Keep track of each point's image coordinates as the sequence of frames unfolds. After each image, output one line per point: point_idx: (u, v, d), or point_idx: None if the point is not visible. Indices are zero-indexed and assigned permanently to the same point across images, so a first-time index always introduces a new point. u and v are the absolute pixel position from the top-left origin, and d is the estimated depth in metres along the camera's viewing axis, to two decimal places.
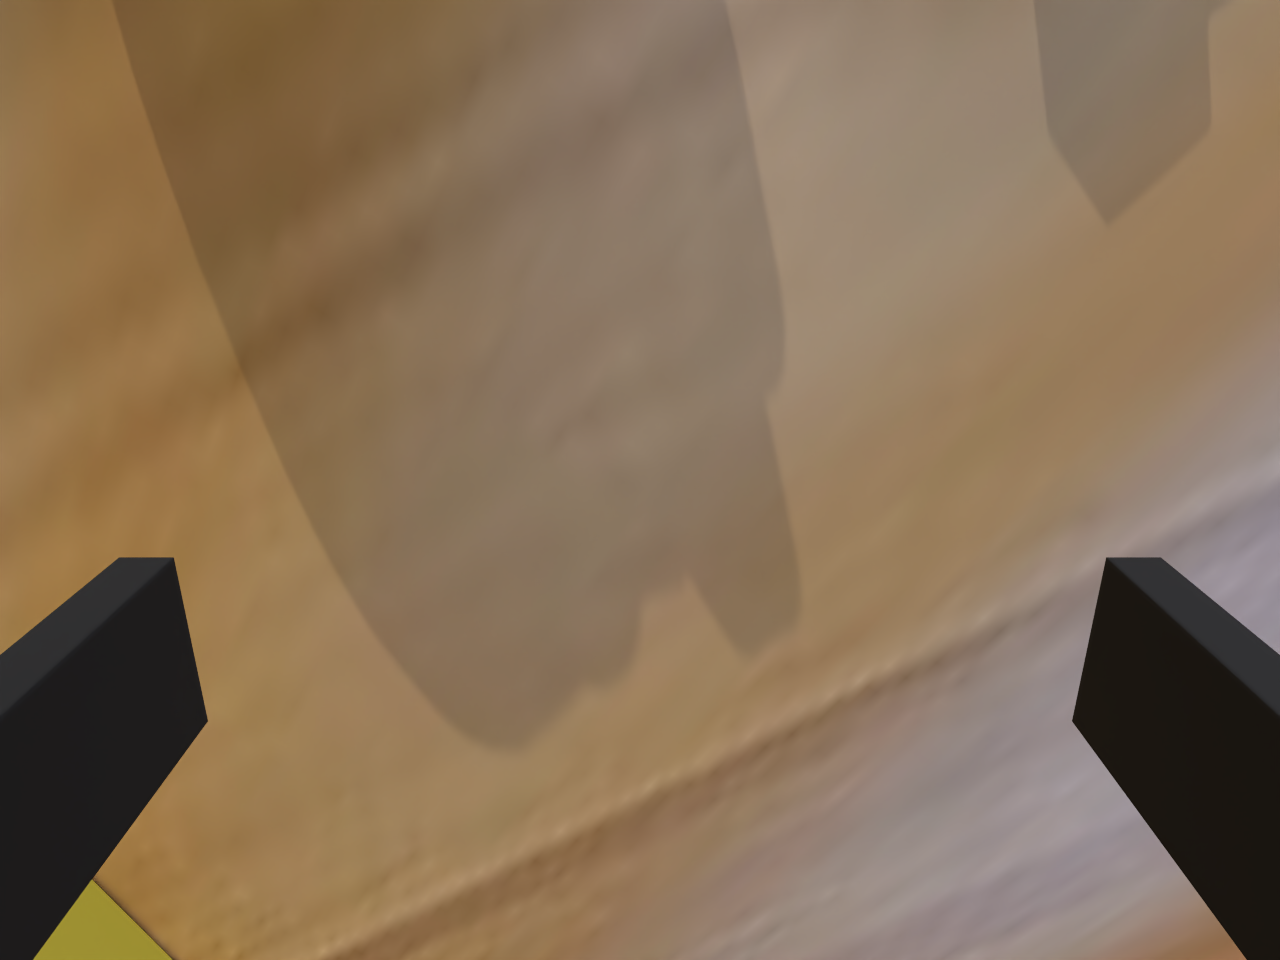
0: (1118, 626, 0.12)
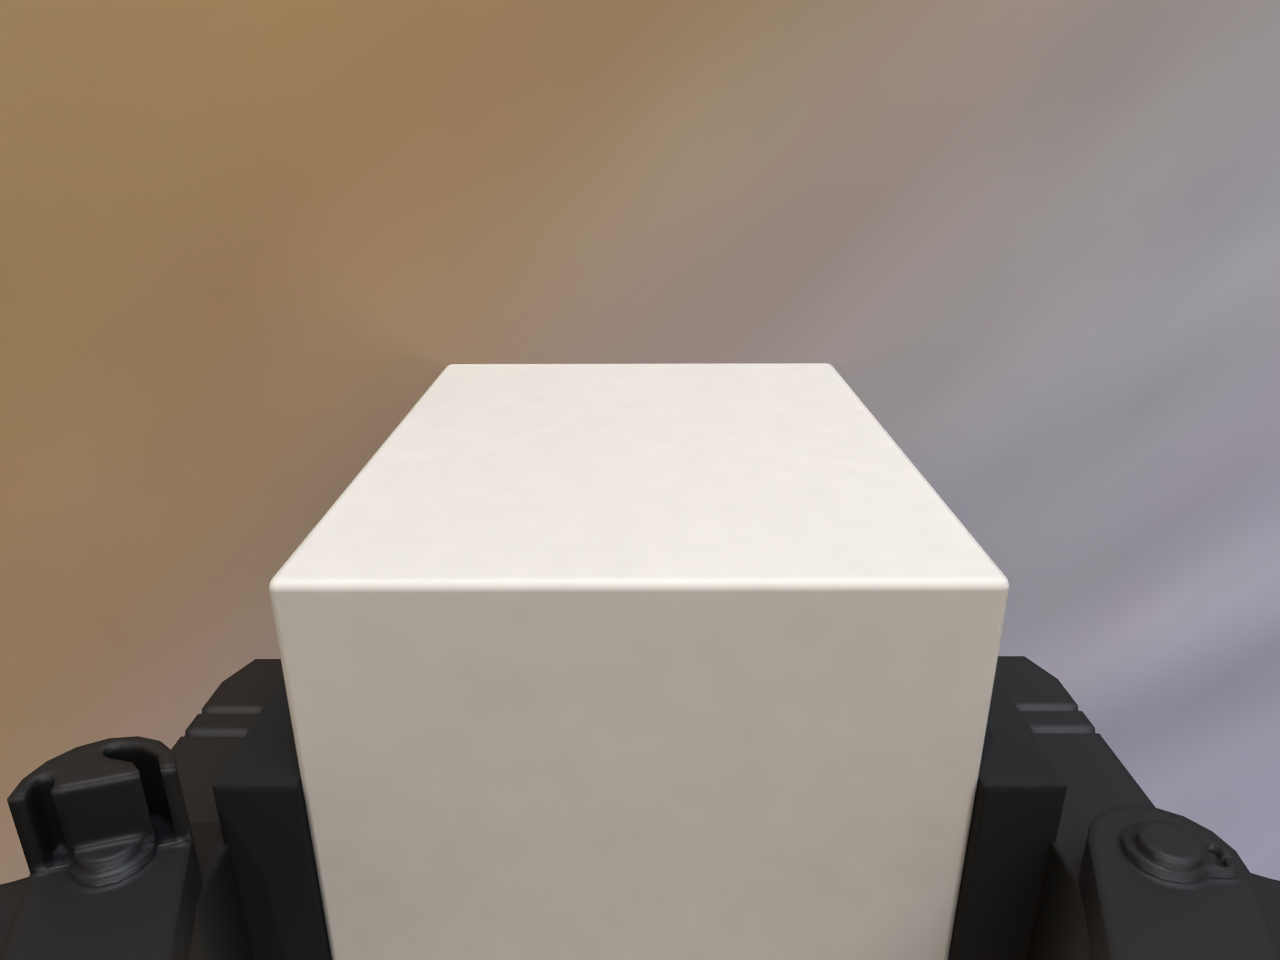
0: None
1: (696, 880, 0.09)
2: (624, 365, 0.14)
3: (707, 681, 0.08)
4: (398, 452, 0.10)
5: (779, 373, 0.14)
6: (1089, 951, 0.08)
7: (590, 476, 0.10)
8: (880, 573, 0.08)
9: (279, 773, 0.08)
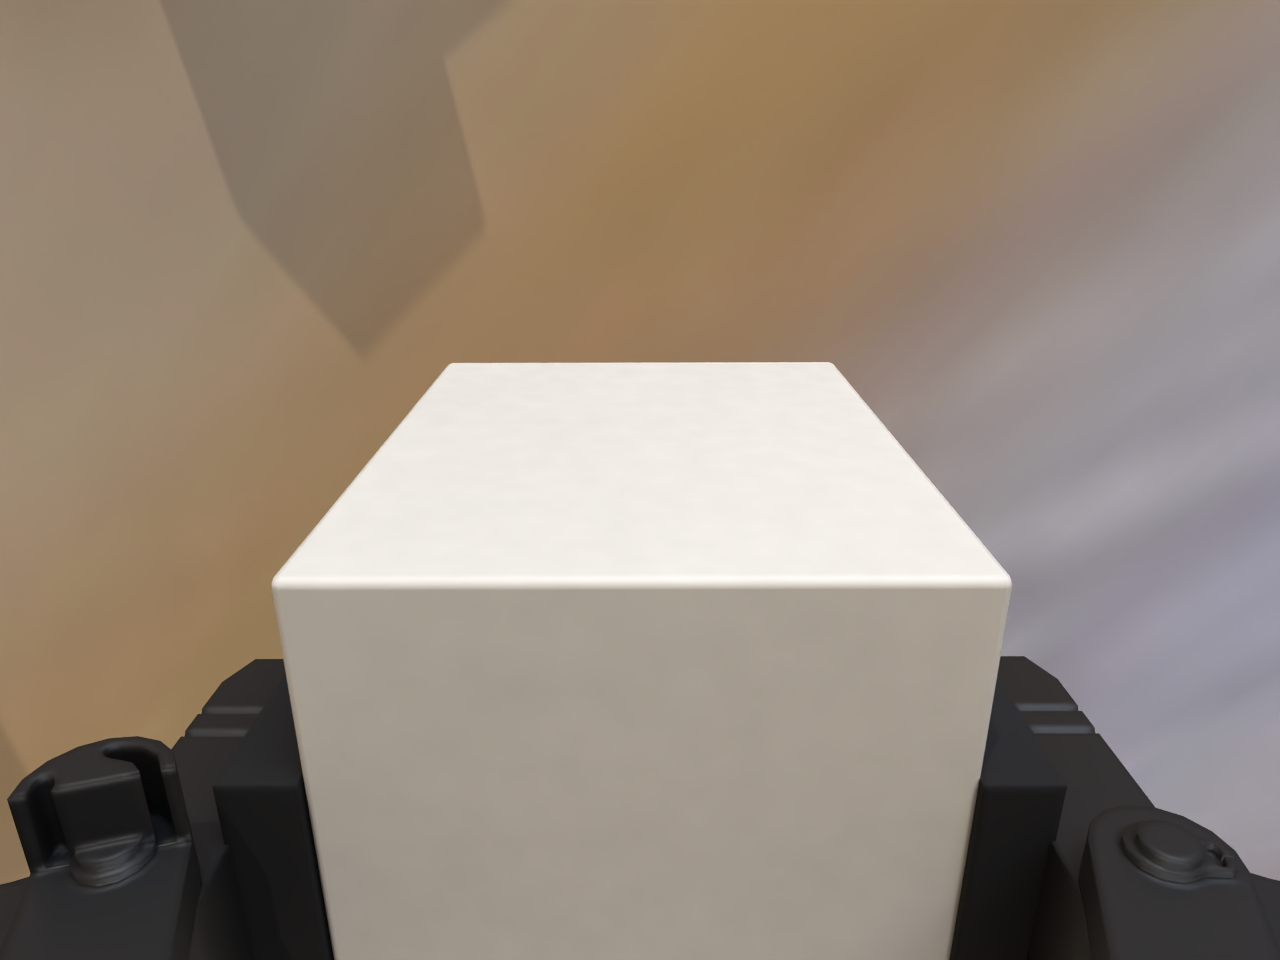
0: None
1: (698, 879, 0.09)
2: (625, 364, 0.14)
3: (709, 680, 0.08)
4: (400, 450, 0.10)
5: (780, 372, 0.14)
6: (1089, 951, 0.08)
7: (591, 474, 0.10)
8: (883, 570, 0.08)
9: (279, 773, 0.08)
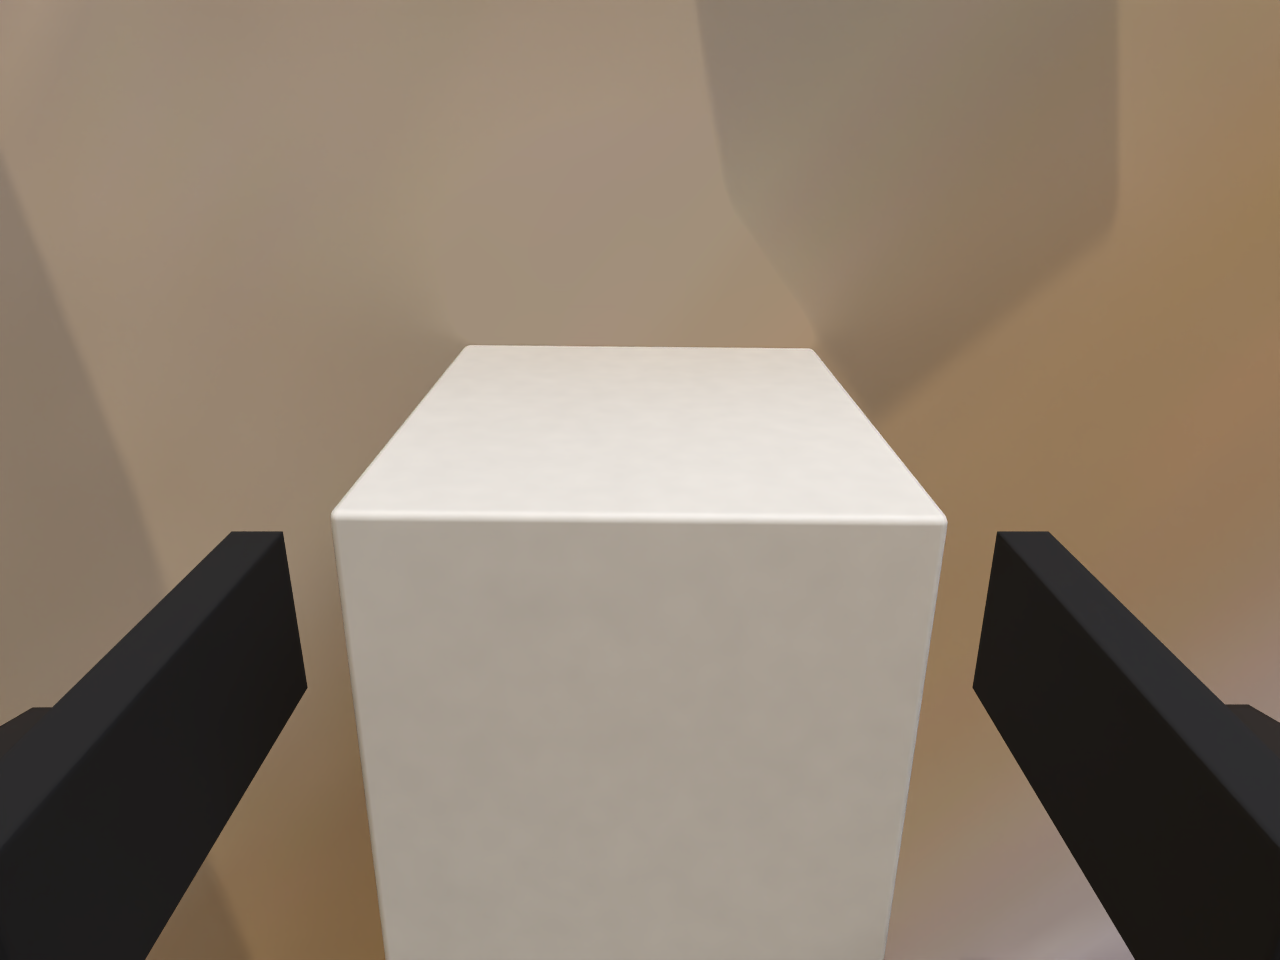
0: (1006, 595, 0.13)
1: (685, 777, 0.10)
2: (625, 348, 0.16)
3: (695, 602, 0.09)
4: (428, 416, 0.12)
5: (765, 356, 0.15)
6: None
7: (596, 436, 0.11)
8: (840, 509, 0.09)
9: None
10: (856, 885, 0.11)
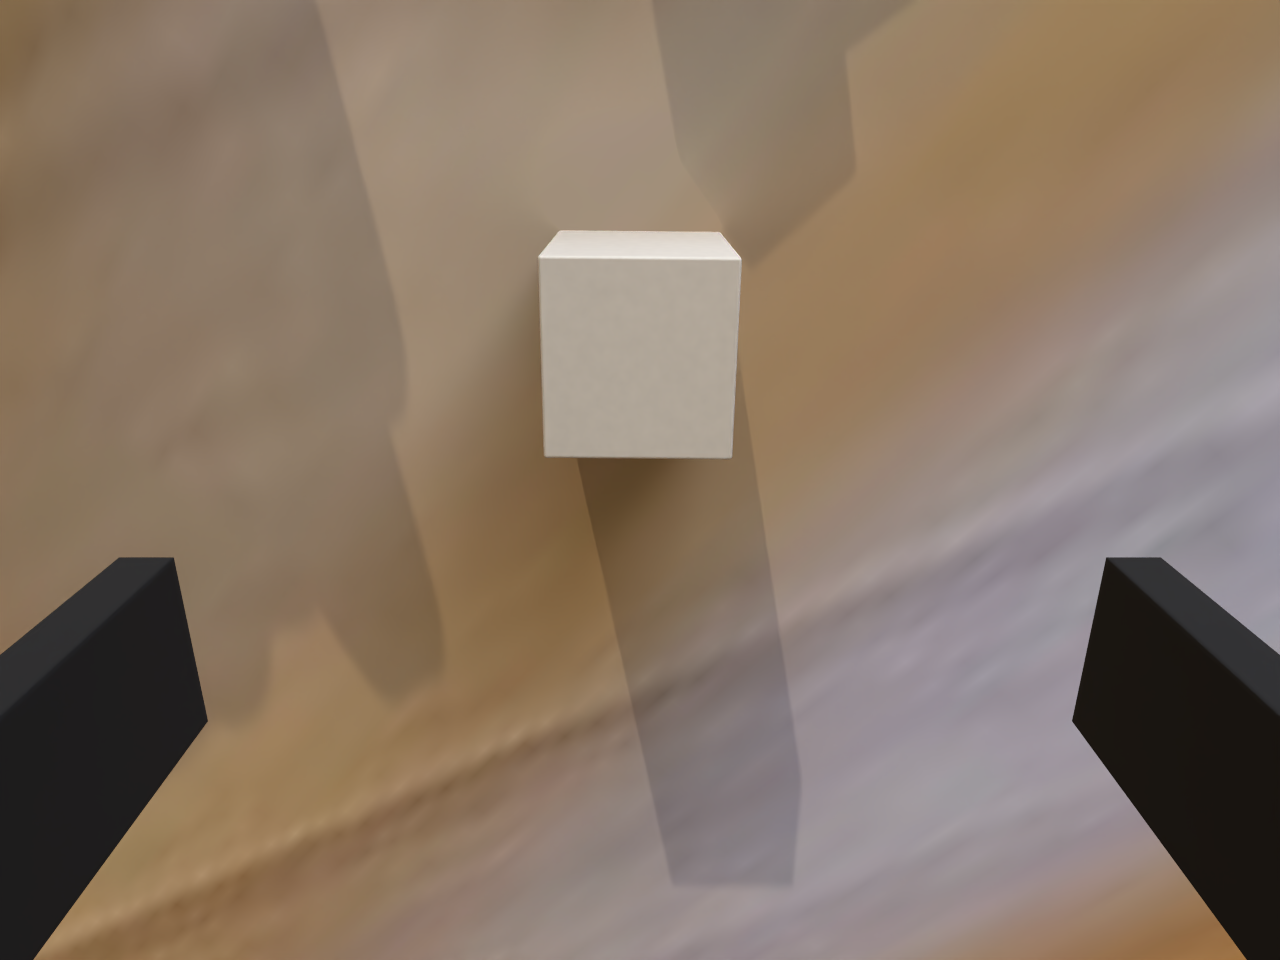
0: (1118, 626, 0.12)
1: (656, 360, 0.28)
2: (633, 231, 0.34)
3: (658, 289, 0.28)
4: (556, 243, 0.30)
5: (697, 233, 0.34)
6: None
7: (623, 246, 0.29)
8: (706, 256, 0.27)
9: None
10: (719, 408, 0.29)
